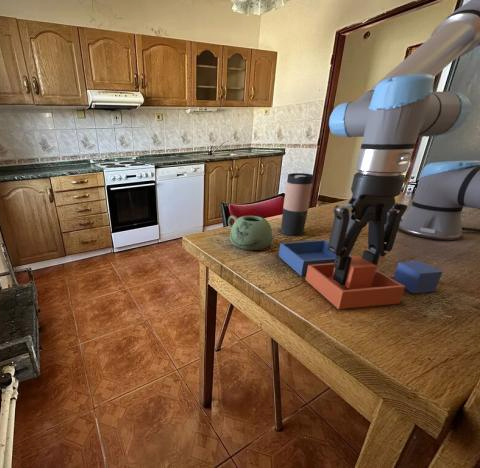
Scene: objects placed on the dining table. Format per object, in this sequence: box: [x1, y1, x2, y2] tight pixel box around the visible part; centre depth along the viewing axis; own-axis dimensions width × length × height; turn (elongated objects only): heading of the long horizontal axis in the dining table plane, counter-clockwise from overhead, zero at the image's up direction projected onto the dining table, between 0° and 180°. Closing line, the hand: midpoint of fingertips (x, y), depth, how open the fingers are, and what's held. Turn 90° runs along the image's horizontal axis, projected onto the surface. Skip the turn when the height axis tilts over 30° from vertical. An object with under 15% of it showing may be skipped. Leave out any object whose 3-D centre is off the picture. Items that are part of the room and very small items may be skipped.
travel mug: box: [280, 172, 314, 237], centre depth 87 cm, size 8×8×20 cm
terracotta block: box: [332, 255, 378, 289], centre depth 55 cm, size 5×5×5 cm
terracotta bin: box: [305, 263, 406, 310], centre depth 56 cm, size 13×11×4 cm
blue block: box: [392, 260, 443, 294], centre depth 57 cm, size 5×5×5 cm
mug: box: [227, 215, 273, 251], centre depth 82 cm, size 16×13×9 cm
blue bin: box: [278, 239, 353, 277], centre depth 68 cm, size 13×11×4 cm
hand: (350, 280), depth 56 cm, fingers closed on terracotta block, 5 cm apart
